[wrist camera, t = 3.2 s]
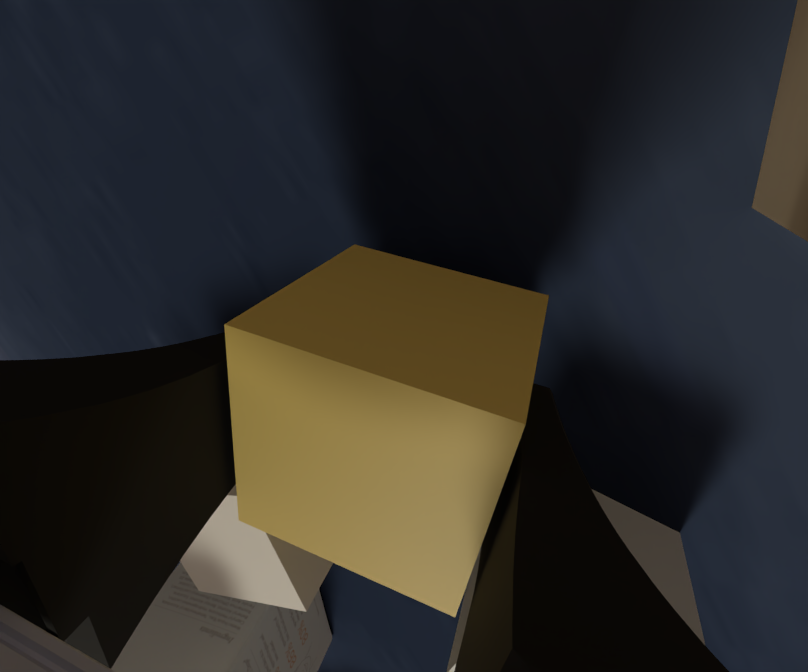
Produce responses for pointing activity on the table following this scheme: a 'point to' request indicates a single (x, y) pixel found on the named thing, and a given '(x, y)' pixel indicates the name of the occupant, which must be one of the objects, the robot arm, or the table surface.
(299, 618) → the small box
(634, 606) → the robot arm
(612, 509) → the grey cube
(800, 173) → the maple cube
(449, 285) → the mustard cube
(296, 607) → the white cube
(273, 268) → the table surface
